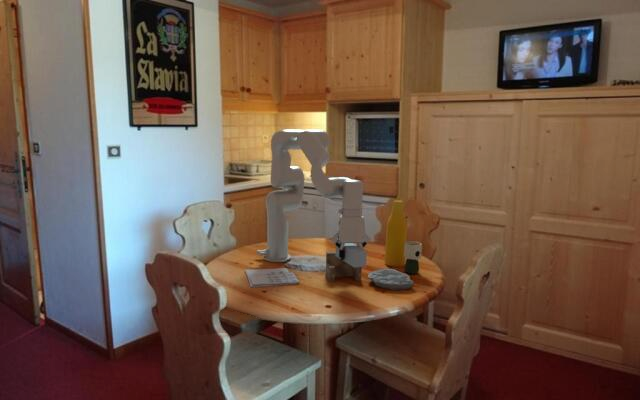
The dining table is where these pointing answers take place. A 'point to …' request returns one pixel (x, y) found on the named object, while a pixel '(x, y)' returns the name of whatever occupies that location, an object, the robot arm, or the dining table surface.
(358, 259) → the grey rectangular block
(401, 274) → the flat grey rock
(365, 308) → the dining table surface
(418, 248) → the character mug
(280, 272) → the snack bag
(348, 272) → the notched brown block
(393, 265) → the yellow bottle
